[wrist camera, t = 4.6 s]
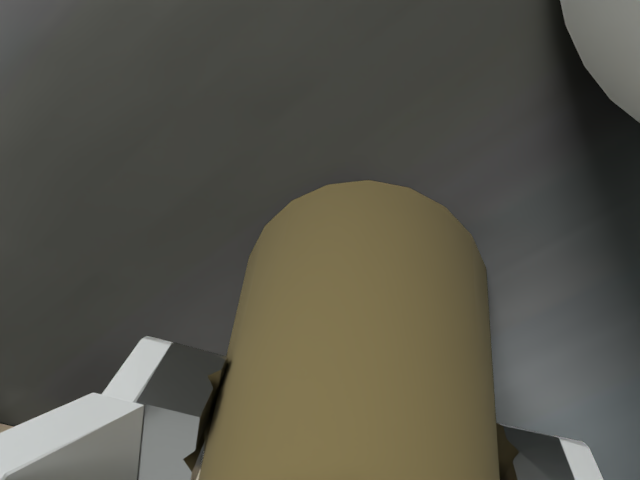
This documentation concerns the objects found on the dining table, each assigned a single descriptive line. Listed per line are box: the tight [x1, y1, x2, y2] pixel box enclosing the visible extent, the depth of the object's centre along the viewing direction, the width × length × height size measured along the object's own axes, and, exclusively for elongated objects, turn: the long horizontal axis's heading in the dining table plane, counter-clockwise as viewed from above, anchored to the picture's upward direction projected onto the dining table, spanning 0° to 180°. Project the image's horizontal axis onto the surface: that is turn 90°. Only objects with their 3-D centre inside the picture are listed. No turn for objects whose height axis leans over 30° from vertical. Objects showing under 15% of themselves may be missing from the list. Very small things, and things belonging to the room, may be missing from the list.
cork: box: [198, 180, 500, 480], centre depth 9 cm, size 6×6×11 cm
